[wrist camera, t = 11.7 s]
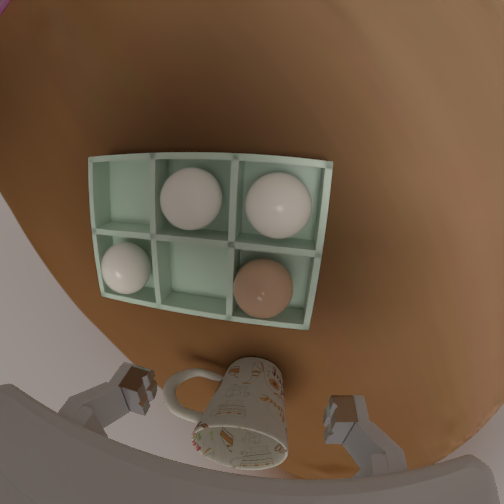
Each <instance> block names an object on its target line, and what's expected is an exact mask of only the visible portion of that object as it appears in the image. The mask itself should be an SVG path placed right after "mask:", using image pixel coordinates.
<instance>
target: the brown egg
mask: <svg viewBox="0 0 504 504" xmlns="http://www.w3.org/2000/svg"><path fill="white" fill-rule="evenodd" d="M233 293H234V297H235V300H236V302H237V304H238V305H239V307H240V308H241V309H242V310H243V311H244V312H245V313H247V314H248V315H250V316H253V317H256V318H270V317H274V316H276V315H278V314H280V313H281V312H282V311H283V310H285V309H286V307H287V306H288V305H289V303H290V301H291V299H292V296H293V281H292V277H291V275H290V273H289V272H288V270H287V269H286V268H285V267H284V266H283V265H282V264H280V263H279V262H277V261H275V260H272V259H268V258H259V259H255V260H252V261H249V262H248V263H246V264H245V265H244V266H242V267H241V269H240V270H239V271H238V273H237V274H236V277H235V279H234V283H233Z"/></svg>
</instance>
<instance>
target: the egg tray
mask: <svg viewBox="0 0 504 504" xmlns="http://www.w3.org/2000/svg"><path fill="white" fill-rule="evenodd" d="M188 167H195V168H201V169H203V170H206V171H207V172H209V173H211V174H212V175H213V176H214V177H215V178H216V179H217V181H218V182H219V184H220V187H221V190H222V194H223V202H222V207H221V210H220V212H219V214H218V216H217V217H216V218H215V219H214V221H213V222H211V223H210V224H209V225H207V226H205V227H204V228H201V229H197V230H184V229H180V228H178V227H176V226H174V225H173V224H171V223H170V222H169V221H168V220H167V219H166V217H165V216H164V214H163V212H162V209H161V205H160V193H161V189H162V187H163V185H164V183H165V181H166V180H167V179H168V178H169V177H170V176H171V175H172V174H173V173H175V172H176V171H178V170H180V169H183V168H188ZM332 169H333V162H331V161H323V160H315V159H306V158H297V157H286V156H274V155H260V154H243V153H217V152H162V153H136V154H119V155H106V156H95V157H88V177H89V202H90V216H91V227H92V237H93V246H94V253H95V260H96V267H97V273H98V279H99V285H100V291H101V296H103V297H107V298H112V299H116V300H120V301H125V302H129V303H134V304H139V305H143V306H148V307H153V308H158V309H163V310H168V311H174V312H179V313H185V314H190V315H196V316H202V317H208V318H215V319H221V320H228V321H235V322H242V323H249V324H257V325H265V326H274V327H282V328H292V329H302V330H309V325H310V320H311V315H312V310H313V304H314V299H315V293H316V288H317V282H318V276H319V270H320V264H321V257H322V251H323V244H324V237H325V230H326V222H327V214H328V206H329V198H330V189H331V179H332ZM273 172H283V173H288V174H291V175H293V176H295V177H297V178H298V179H299V180H301V181H302V182H303V183H304V184H305V186H306V187H307V189H308V191H309V193H310V195H311V199H312V212H311V216H310V219H309V221H308V223H307V224H306V226H305V227H304V228H303V229H302V230H301V231H300V232H298V233H297V234H295V235H293V236H291V237H288V238H283V239H275V238H270V237H267V236H264V235H262V234H261V233H259V232H258V231H257V230H256V229H255V228H254V227H253V226H252V225H251V223H250V222H249V220H248V218H247V215H246V210H245V200H246V195H247V193H248V190H249V189H250V187H251V186H252V184H253V183H254V182H255V181H256V180H257V179H259V178H260V177H262V176H263V175H266V174H268V173H273ZM119 242H132V243H135V244H137V245H139V246H140V247H142V248H143V249H144V250H145V252H146V253H147V255H148V257H149V259H150V263H151V274H150V277H149V280H148V282H147V283H146V285H145V286H144V287H143V288H142V289H140V290H139V291H137V292H135V293H132V294H121V293H118V292H115V291H114V290H112V289H111V288H110V287H109V286H108V285H107V284H106V283H105V281H104V279H103V276H102V273H101V262H102V259H103V256H104V254H105V253H106V251H107V250H108V249H109V248H110V247H111V246H113V245H114V244H116V243H119ZM259 258H268V259H272V260H275V261H277V262H279V263H280V264H282V265H283V266H284V267H285V268H286V269H287V270H288V272H289V273H290V275H291V277H292V281H293V296H292V299H291V301H290V303H289V305H288V306H287V307H286V309H285V310H283V311H282V312H281V313H280V314H278V315H276V316H274V317H270V318H256V317H253V316H250V315H248V314H247V313H245V312H244V311H243V310H242V309H241V308H240V307H239V305H238V304H237V302H236V300H235V297H234V293H233V283H234V279H235V277H236V274H237V273H238V271H239V270H240V269H241V267H242V266H244V265H245V264H246V263H248V262H249V261H252V260H255V259H259Z"/></svg>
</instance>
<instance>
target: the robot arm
mask: <svg viewBox="0 0 504 504" xmlns="http://www.w3.org/2000/svg"><path fill="white" fill-rule="evenodd" d="M154 376H155V374H154V371H153V370H150V369H147V368H143V367H140V366H137V365H133V364H130V363H127V362H124V363H123V364H122V365H121V366H120V368H119V369H118V371H117V372H116V373H115V375H114V376H113V377H112V379H111V380H110V382H109V383H108V382H105V383H103V384H100V385H98V386H96V387H93V388H91V389H89V390H86V391H84V392H81V393H79V394H77V395H74V396H71V397H70V398H69V399H68V400H67V401H66V403H65V404H64V405H63V407H62V408H61V409H60V410H59V412H58V413H56V412H55V411H53V410H51V409H50V408H48V407H46V406H45V405H43V404H42V403H40V402H38V401H37V400H35V399H34V398H32V397H31V396H29V395H28V394H26V393H25V392H23V391H22V390H20V389H19V388H17V387H16V386H14V385H12V384H4V385H0V504H500V501H499V497H498V491H497V487H496V483H495V479H494V476H493V473H492V471H491V469H490V467H489V466H488V465H486V464H485V463H484V462H482V461H481V460H479V459H478V458H476V457H475V456H473V455H464V456H461V457H458V458H455V459H451V460H448V461H445V462H441V463H437V464H434V465H430V466H425V467H421V468H417V469H412V470H408V469H407V464H406V460H405V456H404V451H403V449H402V448H401V447H399V446H398V445H397V444H396V443H395V442H394V441H393V440H392V439H391V438H390V437H389V436H387V435H386V434H385V433H384V432H383V431H382V430H381V429H380V428H379V427H378V426H377V425H376V424H375V423H373V422H370V421H369V416H368V411H367V407H366V403H365V398H364V396H363V395H353V396H352V395H331V397H330V399H329V405H328V406H326V409H325V412H324V426H325V427H326V429H325V432H324V437H325V444H342V445H343V446H344V447H345V449H346V450H347V451H348V453H349V454H350V455H351V457H352V458H353V459H354V460H355V462H356V463H357V464H358V466H359V467H360V468H361V469H360V470H359V471H358V472H357V473H356V475H355V476H354V477H353V478H345V479H320V480H305V479H280V478H279V479H278V478H267V477H256V476H247V475H240V474H234V473H227V472H222V471H216V470H211V469H206V468H202V467H197V466H192V465H188V464H184V463H181V462H177V461H173V460H169V459H166V458H163V457H159V456H156V455H153V454H150V453H147V452H144V451H141V450H138V449H135V448H132V447H130V446H127V445H124V444H122V443H119V442H117V441H114V440H112V439H109V438H108V436H107V434H106V433H105V431H104V429H103V428H104V427H106V426H108V425H109V424H111V423H113V422H114V421H116V420H117V419H119V418H121V417H122V416H123V415H125V414H127V413H129V411H132V412H135V413H138V414H141V415H146V413H147V411H148V409H149V407H150V404H149V402H150V401H152V400H153V399H154V398H155V395H156V392H157V383H156V381H155V380H154V379H153V378H154Z"/></svg>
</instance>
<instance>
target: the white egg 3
mask: <svg viewBox="0 0 504 504" xmlns="http://www.w3.org/2000/svg"><path fill="white" fill-rule="evenodd" d="M245 210H246V215H247V218H248V220H249V222H250V223H251V225H252V226H253V227H254V228H255V229H256V230H257V231H258V232H259V233H261V234H262V235H264V236H267V237H270V238H275V239H283V238H288V237H291V236H293V235H295V234H297V233H298V232H300V231H301V230H302V229H303V228H304V227H305V226H306V224H307V223H308V221H309V219H310V216H311V212H312V199H311V195H310V193H309V191H308V189H307V187H306V186H305V184H304V183H303V182H302V181H301V180H299V179H298V178H297V177H295V176H293V175H291V174H288V173H283V172H273V173H268V174H266V175H263V176H262V177H260V178H259V179H257V180H256V181H255V182H254V183H253V184H252V186H251V187H250V189H249V190H248V193H247V195H246V200H245Z"/></svg>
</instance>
